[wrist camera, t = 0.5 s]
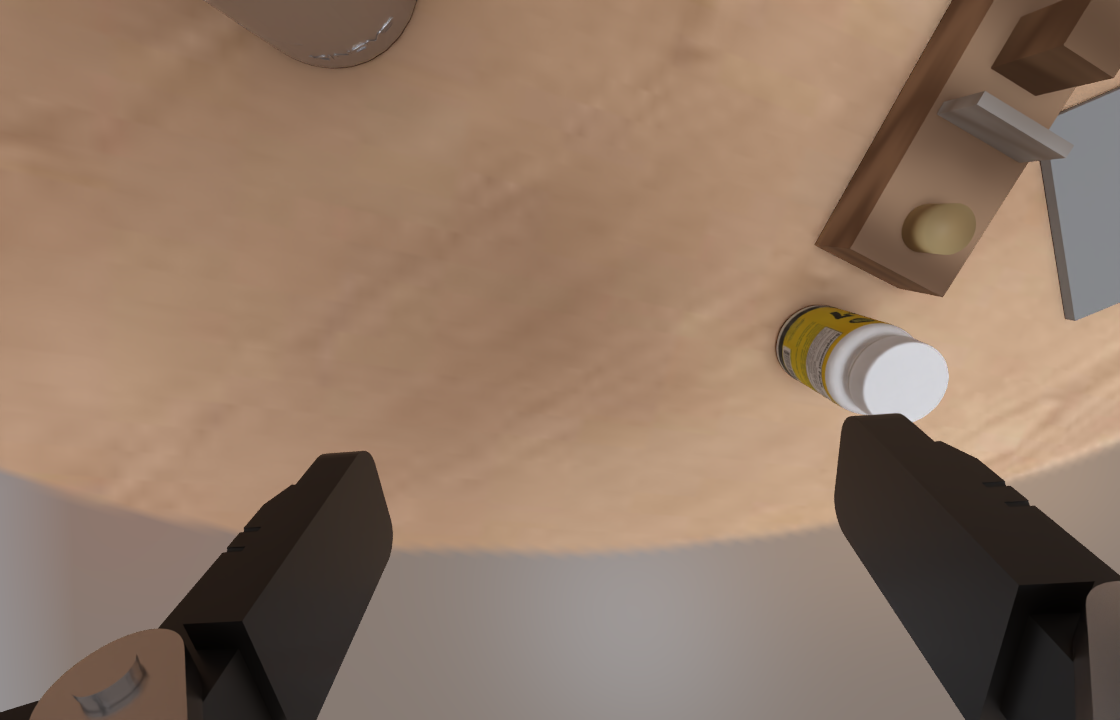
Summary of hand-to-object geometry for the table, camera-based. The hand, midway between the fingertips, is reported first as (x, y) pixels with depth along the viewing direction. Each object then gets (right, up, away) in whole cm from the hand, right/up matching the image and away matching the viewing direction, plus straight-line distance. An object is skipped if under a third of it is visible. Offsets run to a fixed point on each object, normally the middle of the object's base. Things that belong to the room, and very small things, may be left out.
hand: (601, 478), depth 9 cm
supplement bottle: (+14, +3, +23) cm, 28 cm away
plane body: (+20, +14, +20) cm, 31 cm away
